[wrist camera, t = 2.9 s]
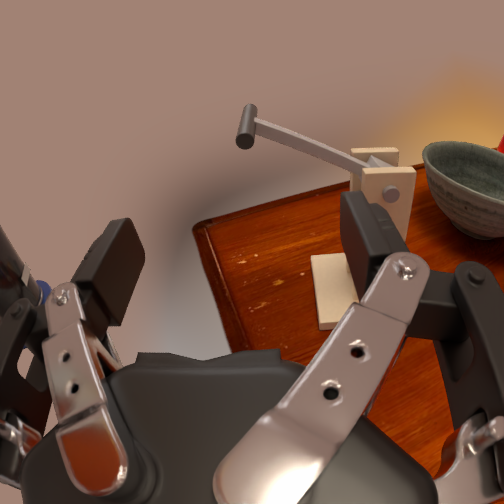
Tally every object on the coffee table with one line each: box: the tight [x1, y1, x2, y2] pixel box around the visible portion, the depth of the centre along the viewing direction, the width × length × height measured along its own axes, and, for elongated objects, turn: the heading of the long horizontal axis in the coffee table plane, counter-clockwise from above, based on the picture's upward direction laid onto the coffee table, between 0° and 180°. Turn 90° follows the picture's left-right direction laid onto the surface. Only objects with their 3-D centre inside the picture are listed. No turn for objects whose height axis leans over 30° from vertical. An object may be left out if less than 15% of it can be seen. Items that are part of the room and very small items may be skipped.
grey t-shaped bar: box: [236, 104, 394, 183], centre depth 24 cm, size 14×8×2 cm, turn 88°
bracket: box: [311, 148, 416, 330], centre depth 29 cm, size 12×10×16 cm
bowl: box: [422, 141, 504, 240], centre depth 36 cm, size 21×21×10 cm
